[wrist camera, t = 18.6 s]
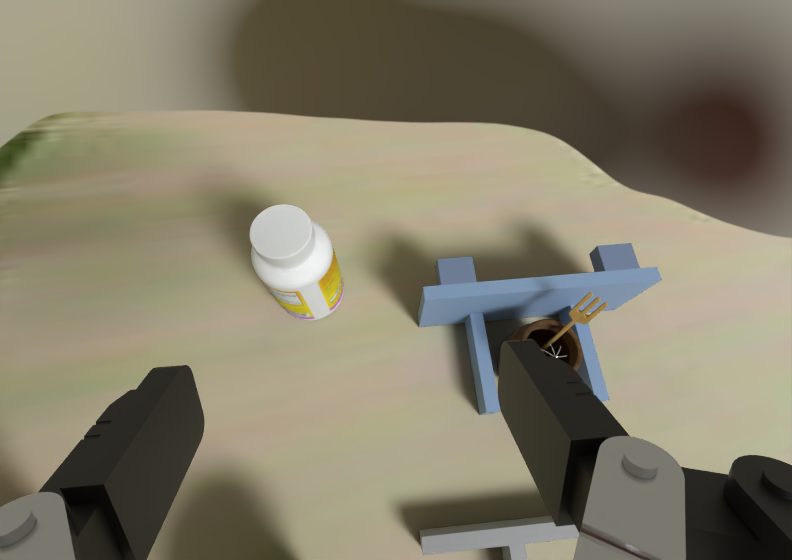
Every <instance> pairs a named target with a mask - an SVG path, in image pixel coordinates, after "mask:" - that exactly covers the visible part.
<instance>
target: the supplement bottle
mask: <svg viewBox="0 0 792 560" xmlns="http://www.w3.org/2000/svg"><path fill="white" fill-rule="evenodd" d="M250 241H251V244H252V249H251V261H252V265H253V268H254V270H255V272H256V274H257V275H258V276H259V278H260V279H261V281H262V282H263V283H264V284H265V285H266V287H267V288H268V289H269V290H270V292H271V293H272V294H273V296H274V297H275V298H276V299H277V301H278V302H279V303H280V304H281V306H282V307H283V308H284V309H285V310H286V311H287V312H288V313H289V314H291V315H292V316H294V317H296V318H298V319H302V320H317V319H321V318H323V317H325V316H327V315H329V314H330V313H332V312H333V311H334V310H335V309H336V308H337V306H338V305H339V304H340V302H341V300H342V297H343V293H344V282H343V278H342V275H341V272H340V268H339V265H338V262H337V259H336V255H335V252H334V249H333V246H332V243H331V240H330V238H329V236H328V234H327V232H326V231H325V230H324V228H323V227H322V226H321V225H320V224H318V223H317V222H315V221H314V220H312V219H310V218H309V216H308V215H307V214H306V213H305V212H304V211H303V210H302V209H300V208H298V207H296V206H293V205H288V204H279V205H274V206H271V207H269V208H267V209H265V210H263V211H262V212H261V213H260V214H258V215H257V217H256V218H255V219H254V221H253V222H252V225H251V227H250Z"/></svg>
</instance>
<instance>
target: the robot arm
mask: <svg viewBox="0 0 792 560" xmlns="http://www.w3.org/2000/svg"><path fill="white" fill-rule="evenodd" d="M498 400H499V405H500V409H501V412H502V414H503V417H504V419H505V421H506V423H507V425H508V427H509V429H510V431H511V433H512V435H513V437H514V440H515V442H516V444H517V446H518V448H519V450H520V452H521V454H522V456H523V458H524V460H525V463H526V465H527V467H528V469H529V471H530V473H531V475H532V477H533V479H534V481H535V483H536V486H537V488H538V490H539V492H540V494H541V496H542V498H543V500H544V502H545V504H546V506H547V509H548V511H549V513H550V515H551V517H552V519H553V521H554V523H555V525H556V527H558V526H567V525H575V526H576V528H577V530H578V532H579V537H578V541H577V546H576V550H575V555H574V559H573V560H792V465H790V464H787V463H785V462H782V461H779V460H776V459H773V458H769V457H765V456H758V455H747V456H742V457H739V458H737V459H736V460H735V461H734V462H733V464H732V466H731V469H730V472H729V474H728V475H727V474H720V473H714V472H708V471H702V470H695V469H689V468H684V467H680V465H679V464H678V463H677V461H676V460H675V459H674V458H673V457H672V456H671V455H670V454H669V453H667V452H666V451H664V450H663V449H662V448H660V447H658V446H657V445H655V444H652V443H650V442H648V441H645V440H643V439H639V438H636V437H630V436H629V435H628V433H627V432H626V431H625V430H624V429H623V427H622V426H621V425H620V424H619V423H618V421H617V420H616V419H615V418H614V417H613V415H612V414H611V413H610V412H609V411H608V409H607V408H606V407H605V406H604V405H603V403H602V402H601V401H600V400H599V399H598V397H597V396H596V395H593V391H592V390H591V389H590V388H589V387H588V385H587V384H586V383H585V384H584V381H583V379H582V378H581V377H580V376H579V374H578V373H577V372H576V371H575V370H574V368H573V367H571V366H570V365H568V364H567V363H565V362H563V361H562V360H560V359H559V358H557V357H556V356H551V357H547V356H546V355H545V354H544V352H543V351H542V350H541V348H540V347H539V346H538V344H537V343H536V342H535V341H534V340H533V339H524V340H511V341H504V342H503V343H502V346H501V354H500V367H499V380H498ZM203 432H204V414H203V410H202V406H201V403H200V399H199V395H198V392H197V388H196V384H195V381H194V377H193V373H192V371H191V369H190V367H189V366H187V365H182V366H170V367H157V368H153V369H152V370H151V371H150V372H149V373H148V375H147V376H146V377H145V379H144V380H143V381H142V382H141V384H140V385H139V386H138V388H137V389H136V390H130V391H128V392H127V393H126V394H124V395H123V396H121V397H120V398H119V399H117V400H116V401H115V402H113V403H112V404H110V405H109V406H108V408H107V409H106V410H105V411H104V413H103V414H102V415H101V416H100V417H99V419H98V420H97V421H96V425H93V426H92V427H91V428H90V430H89V431H88V432H87V433H86V435H85V436H84V440H81V441H80V442H79V443H78V444H77V446H76V447H75V448H74V449H73V450H72V452H71V453H70V454H69V455H68V457H67V458H66V459H65V460H64V461H63V463H62V464H61V465H60V466H59V468H58V469H57V470H56V471H55V472H54V474H53V475H52V476H51V477H50V478H49V480H48V481H47V482H46V483H45V485H44V486H43V487H42V488H41V489H40V491H39V492H38V493H34V494H30V495H26V496H23V497H21V498H18V499H16V500H13V501H11V502H9V503H7V504H5V505H3V506H2V507H0V560H146V559H147V557H148V555H149V553H150V551H151V548H152V546H153V544H154V542H155V540H156V538H157V535H158V533H159V531H160V529H161V527H162V524H163V522H164V520H165V518H166V516H167V514H168V511H169V509H170V507H171V505H172V503H173V501H174V498H175V496H176V494H177V492H178V490H179V487H180V485H181V483H182V481H183V479H184V477H185V474H186V472H187V470H188V468H189V466H190V464H191V461H192V459H193V457H194V455H195V453H196V451H197V448H198V446H199V444H200V442H201V439H202V436H203Z"/></svg>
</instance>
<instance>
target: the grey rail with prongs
mask: <svg viewBox="0 0 792 560" xmlns="http://www.w3.org/2000/svg"><path fill="white" fill-rule="evenodd" d="M419 533H420V543H421V549H422V552H423V555H431V554H439V553H448V552H457V551H466V550H475V549H483V548H492V547H501V549H502V555H503V560H527V554H526V549H525V544H527V543H536V542H545V541H554V540H562V539H571V538H578V537H579V532H578V530H577V528H576V526H575V525H567V526H558V527H556V525H555V523H554V521H553V519H552V517H551V515H550V516H541V517H532V518H523V519H514V520H505V521H496V522H487V523H478V524H469V525H460V526H451V527H442V528H433V529H424V530H419Z"/></svg>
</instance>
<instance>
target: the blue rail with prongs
mask: <svg viewBox="0 0 792 560" xmlns="http://www.w3.org/2000/svg"><path fill="white" fill-rule="evenodd" d="M589 255H590V258H591V261H592V265H593V268H594V271H595V272H590V273H579V274H567V275H555V276H543V277H532V278H520V279H508V280H496V281H484V282H477V280H476V275H475V269H474V264H473V258H472V256H469V257H457V258H444V259H437V263H436V273H437V280H438V285H437V286H426V287H423V291H422V296H421V301H420V306H419V311H418V323H419V327H427V326H438V325H449V324H460V323H465V328H466V334H467V340H468V347H469V353H470V359H471V365H472V371H473V377H474V383H475V389H476V396H477V402H478V408H479V414H480V415H484V414H493V413H496V412H498V411H500V406H499V400H498V395H497V389H496V384H495V378H494V373H493V367H492V362H491V356H490V351H489V345H488V340H487V334H486V329H485V323H484V321H494V320H505V319H516V318H527V317H539V316H550V315H559V319H560V322H561V323H563V324H565V325H567V324H568V323H569V322H570V321H571V320H572V318H571V317H570V315H569V311H570V310H571V309H572V308H573V307H574V306H575V305H576V304H577V303H579V302H580V301H581V300H582V299H583V298H584V297H585V296H586V295H587V294H588V293H589V292H592V293H593V296H592V297H590V298H589V299H588V300H587V301H586V302H585V303H584V304H583V305H582V306H581V307H580V308H579V310H583V309H584V308H585V307H587V306H588V305H589V304H590V303H591V302H592V301H593V300H594V299H595V298H597V297H599V298H600V299H601V300H600V301H599V302H598V303H597V304H596V305H595V306H593V307H592V308H591V309H590V310H589V311H588V312H594V311H595V310H596V309H597V308H598V307H599V306H601V305H602V304H603V303H604V302H607V303H608V306H607V307H605V308H604V309H603V310H602V311H606V310H615V309H616V308H618V307H619V306H621V305H623V304H624V303H626V302H627V301H629V300H630V299H632V298H634V297H635V296H637V295H638V294H640V293H642V292H643V291H645V290H646V289H648V288H650V287H651V286H653V285H654V284H656V283H657V282H659V281H661V280H662V279H661V277H660V274H659V271H658V268H657V267H649V268H640V267H639V265H638V262H637V259H636V256H635V253H634V250H633V247H632V244H631V243H627V244H615V245H603V246H597V247H596V248H595V249H594V250H593V251H592V252H591V253H590V254H589ZM570 328H571V329H572V330H573V331H574V333H575V334H576V335H577V337H578V338H579V340H580V343H581V346H582V352H583V356H582V362H581V365H580V367H579V368H578V370H577V371H576V372H577V373H578V374H579V376H580V377H581V378H582V379H583V381H584V384H585V383H586V384H587V385H588V387H589V388H590V389H591V390H592V391H593V395H596V396H597V397H598V399H599V400H600V401H601V402H603V401H607V400H609V396H608V392H607V389H606V385H605V382H604V378H603V375H602V371H601V367H600V364H599V360H598V357H597V353H596V350H595V346H594V343H593V339H592V335H591V332H590V328H589V325H588V323H587V324H581V323H575V324H574V325H572V326H571V327H570Z"/></svg>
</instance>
